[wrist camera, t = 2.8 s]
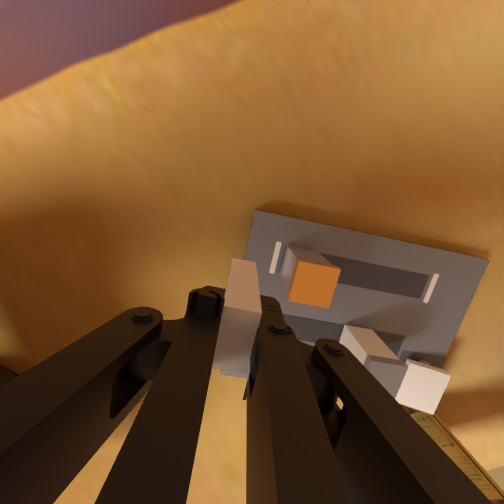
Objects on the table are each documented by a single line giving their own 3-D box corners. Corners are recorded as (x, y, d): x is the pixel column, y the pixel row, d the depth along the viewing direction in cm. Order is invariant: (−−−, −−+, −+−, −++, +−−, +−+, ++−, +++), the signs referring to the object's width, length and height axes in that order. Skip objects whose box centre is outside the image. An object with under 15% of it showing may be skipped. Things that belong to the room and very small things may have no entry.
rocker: (388, 390, 29) (393, 401, 27) (403, 353, 28) (410, 363, 26) (425, 402, 28) (433, 415, 27) (442, 364, 27) (451, 375, 26)
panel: (222, 361, 29) (220, 374, 27) (254, 209, 25) (255, 210, 23) (413, 392, 31) (424, 406, 29) (472, 255, 27) (491, 260, 25)
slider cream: (335, 350, 27) (359, 393, 21) (344, 323, 26) (372, 360, 20) (363, 354, 27) (395, 398, 21) (373, 328, 26) (408, 366, 21)
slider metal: (277, 275, 24) (288, 301, 19) (285, 243, 24) (299, 260, 18) (309, 281, 25) (328, 308, 19) (318, 250, 24) (341, 269, 18)
